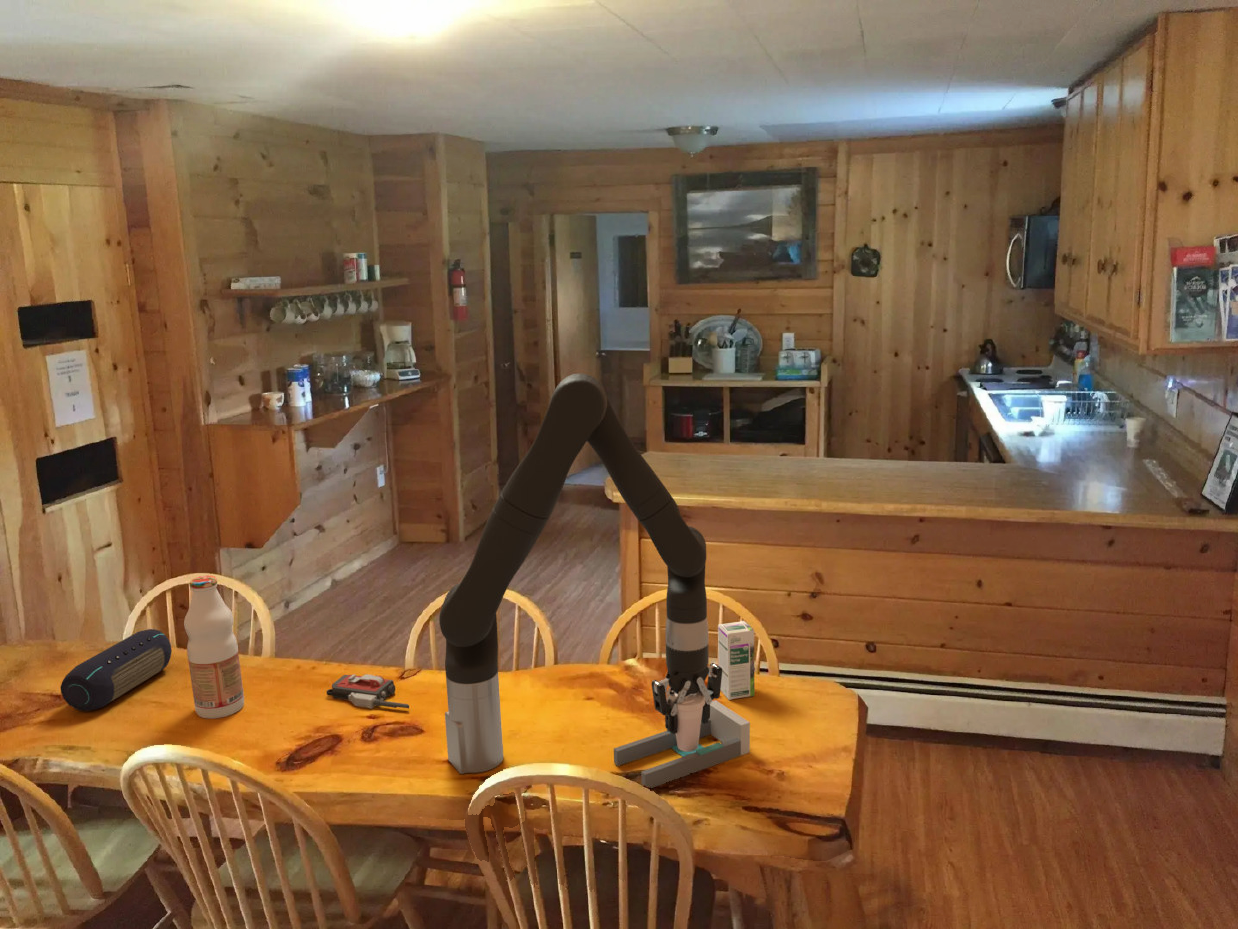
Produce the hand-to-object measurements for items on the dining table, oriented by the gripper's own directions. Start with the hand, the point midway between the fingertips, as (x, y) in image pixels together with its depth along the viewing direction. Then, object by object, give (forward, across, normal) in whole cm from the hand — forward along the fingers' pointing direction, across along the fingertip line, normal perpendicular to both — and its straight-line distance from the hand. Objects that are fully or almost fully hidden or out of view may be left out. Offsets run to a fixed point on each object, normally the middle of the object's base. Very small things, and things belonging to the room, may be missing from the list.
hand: (688, 726), depth 180 cm
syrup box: (+6, +22, +15) cm, 28 cm away
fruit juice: (+6, -69, +68) cm, 97 cm away
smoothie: (+4, 0, 0) cm, 4 cm away
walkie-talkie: (+7, -41, +55) cm, 69 cm away
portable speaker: (+6, -85, +89) cm, 123 cm away
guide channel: (+6, -2, 0) cm, 6 cm away
